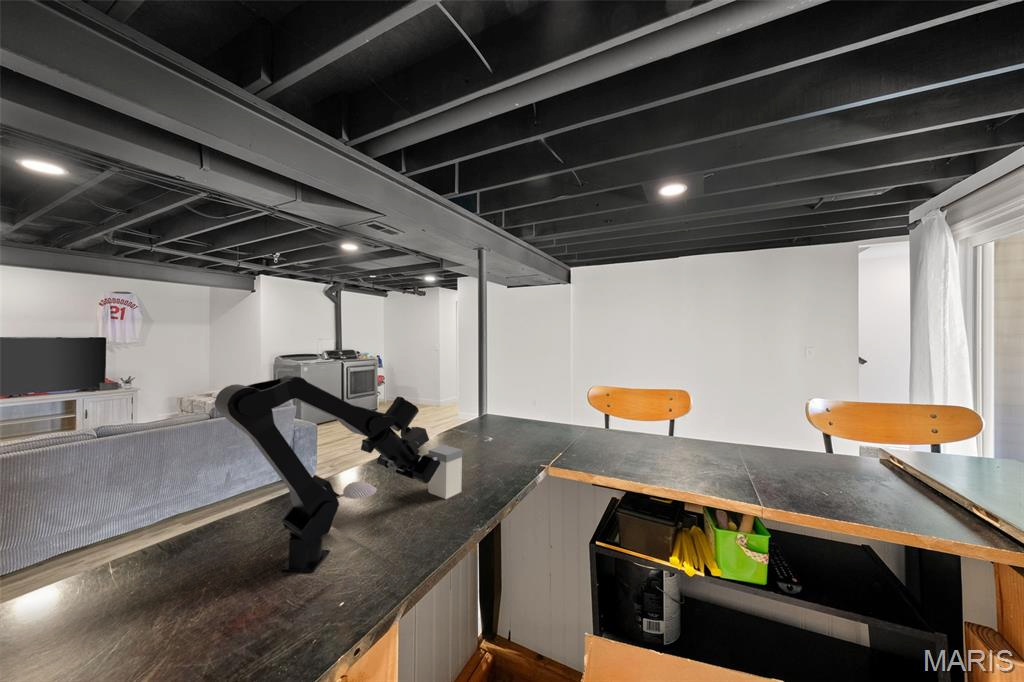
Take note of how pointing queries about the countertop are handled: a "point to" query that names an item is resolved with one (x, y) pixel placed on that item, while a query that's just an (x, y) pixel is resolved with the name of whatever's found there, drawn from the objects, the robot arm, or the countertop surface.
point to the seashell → (358, 490)
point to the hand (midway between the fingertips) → (425, 478)
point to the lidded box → (446, 472)
